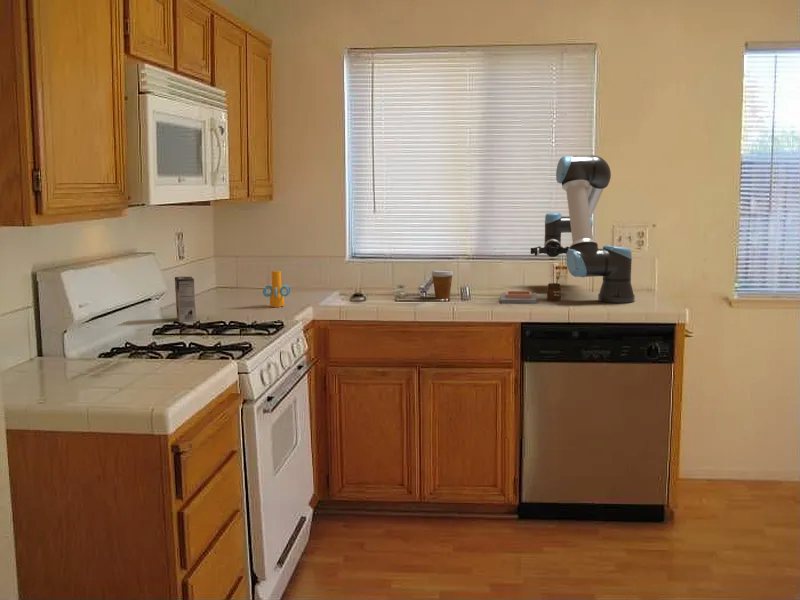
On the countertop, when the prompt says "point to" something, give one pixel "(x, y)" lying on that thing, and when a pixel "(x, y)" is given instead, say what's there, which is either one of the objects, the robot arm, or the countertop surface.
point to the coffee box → (185, 298)
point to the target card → (518, 297)
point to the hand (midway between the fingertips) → (553, 253)
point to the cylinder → (276, 290)
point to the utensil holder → (554, 290)
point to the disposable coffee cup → (442, 283)
